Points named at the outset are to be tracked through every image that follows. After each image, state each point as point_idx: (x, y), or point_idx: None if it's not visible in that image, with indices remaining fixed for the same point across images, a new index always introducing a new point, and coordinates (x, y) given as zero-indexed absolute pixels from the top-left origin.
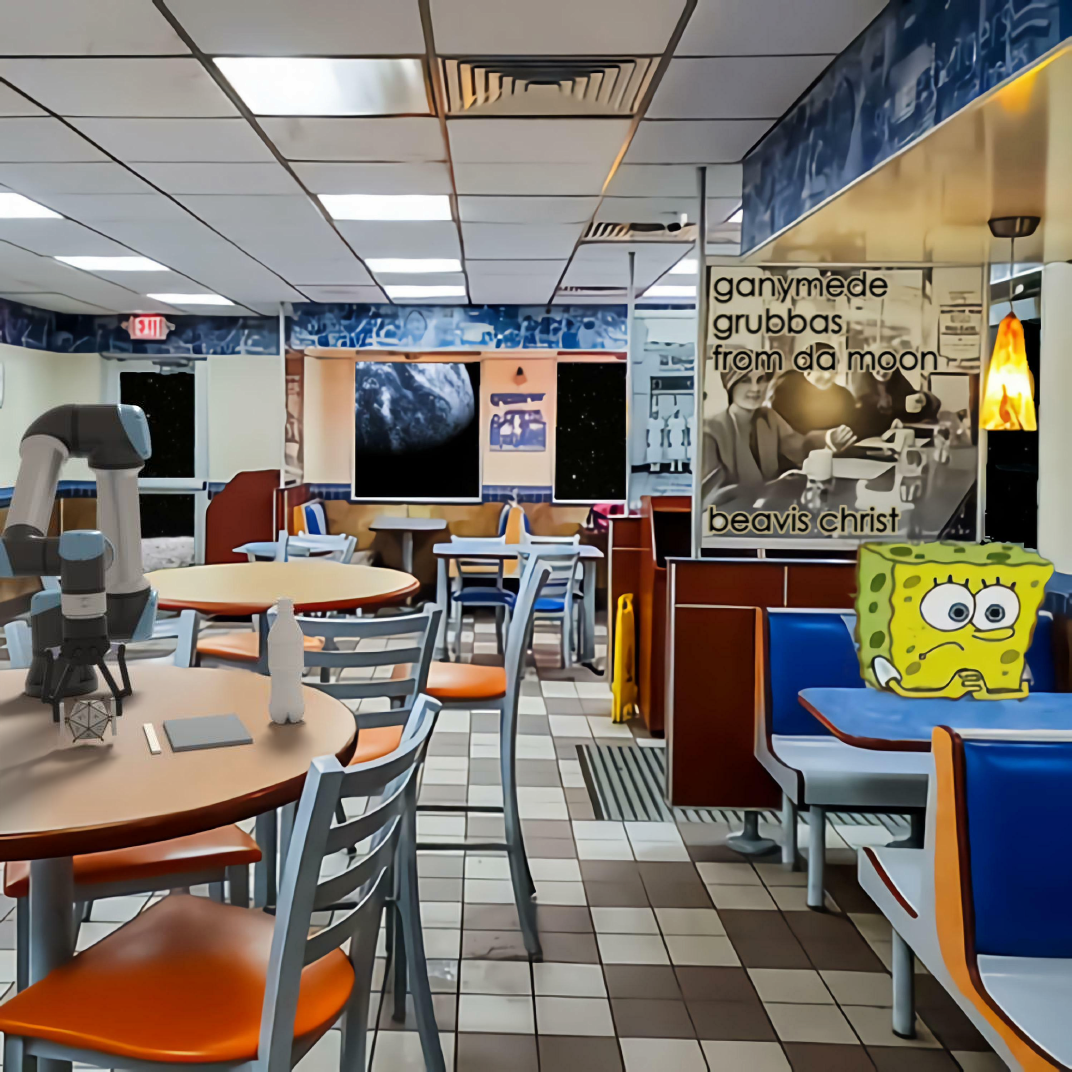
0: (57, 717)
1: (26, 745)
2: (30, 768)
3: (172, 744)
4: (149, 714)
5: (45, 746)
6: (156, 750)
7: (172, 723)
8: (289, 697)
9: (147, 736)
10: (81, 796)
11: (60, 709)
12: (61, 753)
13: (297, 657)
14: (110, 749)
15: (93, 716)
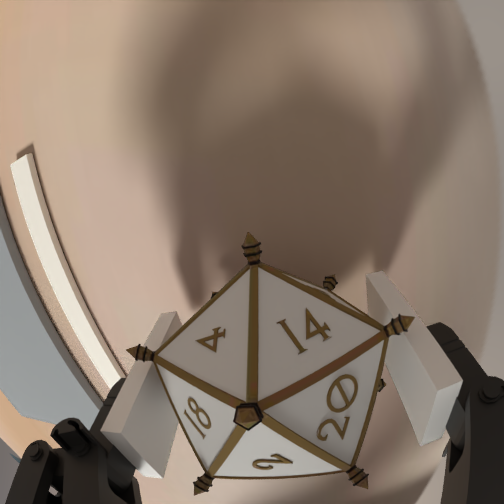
0: (438, 343)
1: (459, 325)
2: (426, 40)
3: (2, 225)
4: (188, 480)
5: (417, 311)
6: (18, 162)
7: (86, 410)
8: None
9: (94, 333)
10: None
11: (448, 366)
12: (364, 211)
13: None
14: (176, 231)
15: (225, 334)
